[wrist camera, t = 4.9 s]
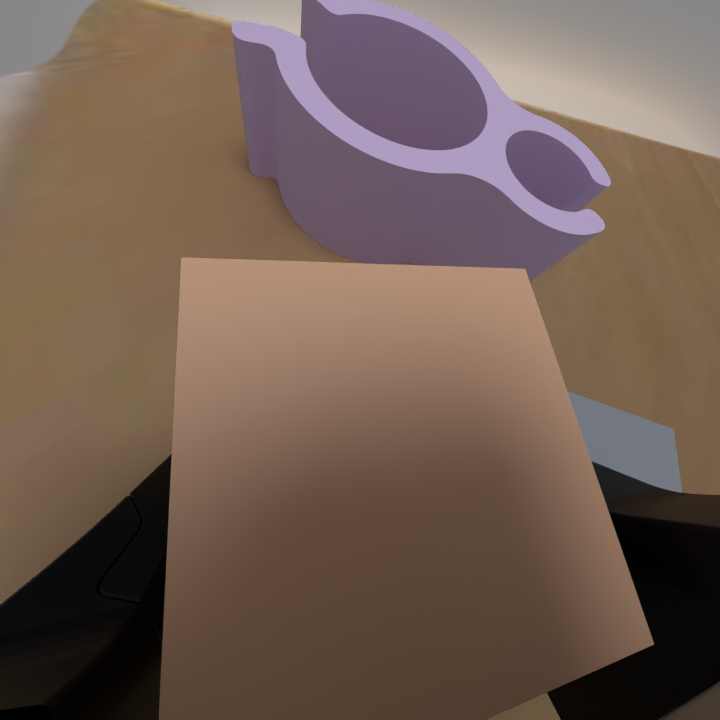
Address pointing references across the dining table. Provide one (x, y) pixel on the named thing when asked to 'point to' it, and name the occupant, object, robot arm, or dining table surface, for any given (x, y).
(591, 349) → the dining table surface
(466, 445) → the tan block
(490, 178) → the clip
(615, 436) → the plate
